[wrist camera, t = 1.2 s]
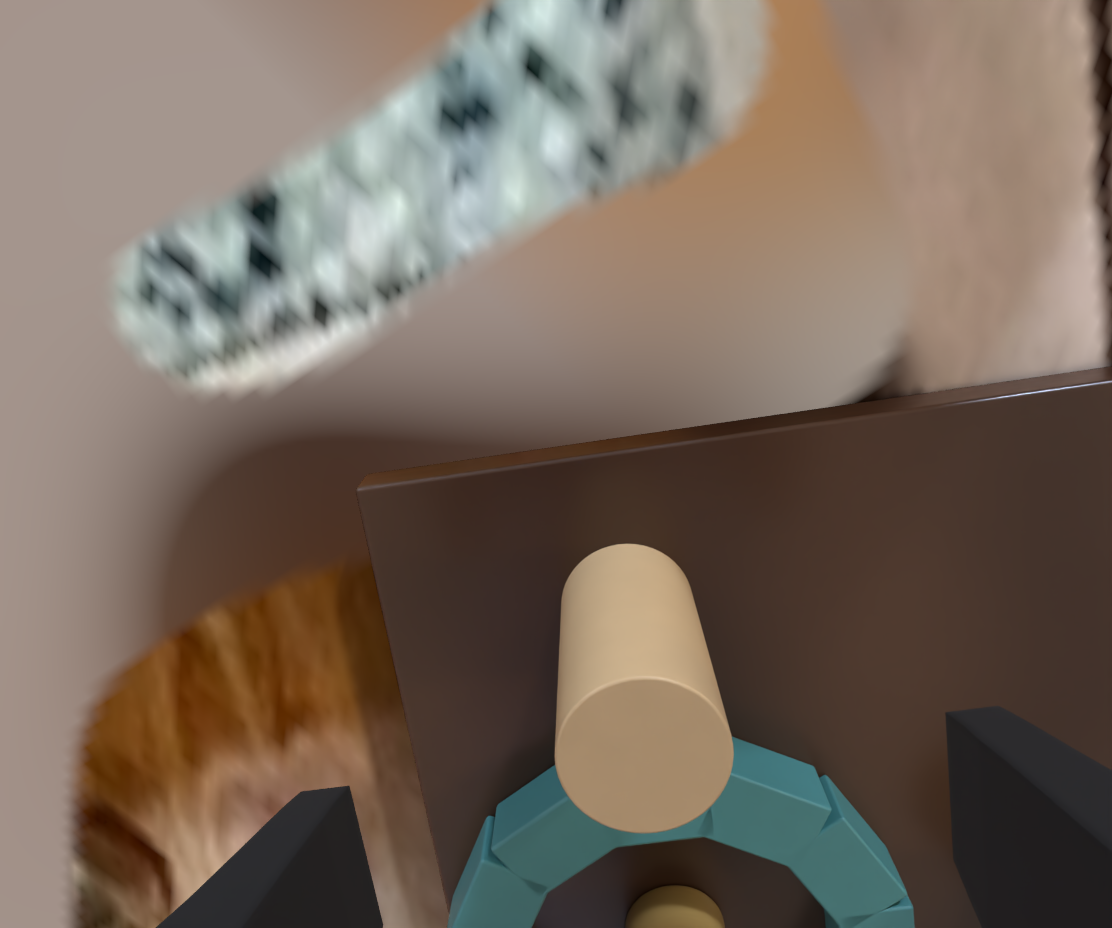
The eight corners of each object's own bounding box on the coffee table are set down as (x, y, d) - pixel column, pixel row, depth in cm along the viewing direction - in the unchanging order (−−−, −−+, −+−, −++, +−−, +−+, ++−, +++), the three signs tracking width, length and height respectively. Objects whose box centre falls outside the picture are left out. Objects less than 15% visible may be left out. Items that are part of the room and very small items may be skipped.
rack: (500, 1096, 22) (483, 1300, 18) (365, 473, 18) (304, 555, 14) (1561, 988, 21) (1800, 1183, 17) (1666, 285, 17) (2012, 316, 13)
